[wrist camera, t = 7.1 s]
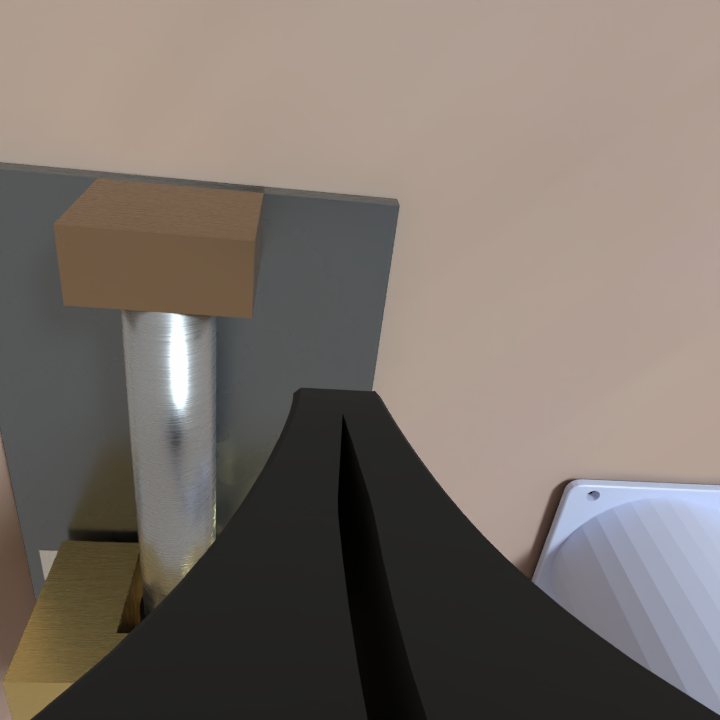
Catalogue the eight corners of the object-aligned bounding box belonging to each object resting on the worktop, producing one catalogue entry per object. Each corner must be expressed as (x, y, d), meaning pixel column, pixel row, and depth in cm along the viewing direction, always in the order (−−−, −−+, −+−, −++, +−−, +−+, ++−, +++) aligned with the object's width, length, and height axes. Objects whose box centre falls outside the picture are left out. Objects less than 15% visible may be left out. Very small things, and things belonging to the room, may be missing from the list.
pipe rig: (397, 198, 19) (418, 256, 15) (328, 665, 30) (331, 765, 27) (-44, 158, 18) (-137, 211, 14) (56, 663, 29) (19, 768, 25)
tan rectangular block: (310, 547, 25) (311, 684, 20) (302, 616, 27) (302, 755, 22) (62, 540, 24) (2, 682, 19) (74, 613, 26) (22, 757, 21)
